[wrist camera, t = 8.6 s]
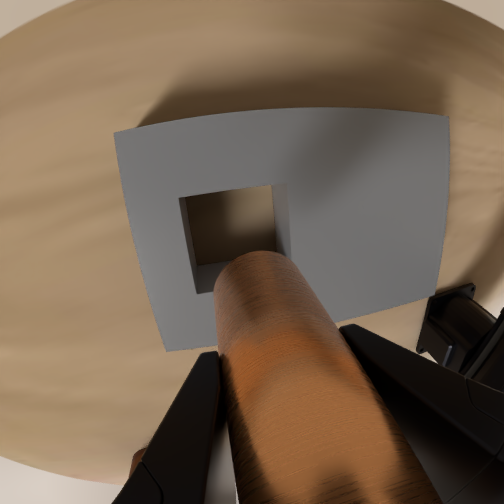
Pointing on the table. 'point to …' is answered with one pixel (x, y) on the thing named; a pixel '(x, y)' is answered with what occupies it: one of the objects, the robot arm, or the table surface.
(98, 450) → the table surface
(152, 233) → the grey block with hole
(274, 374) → the pin
